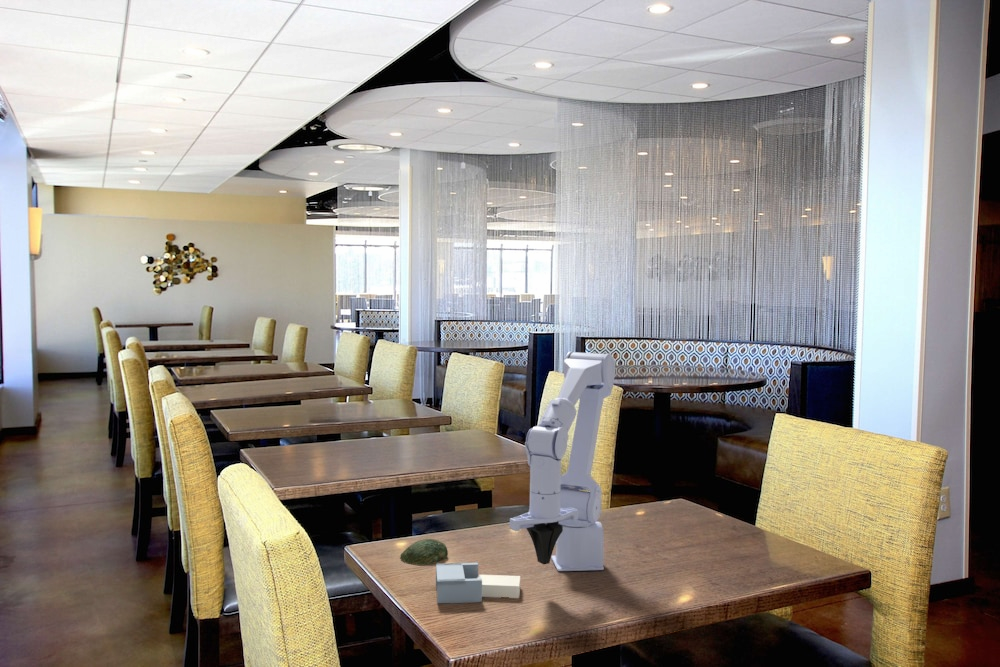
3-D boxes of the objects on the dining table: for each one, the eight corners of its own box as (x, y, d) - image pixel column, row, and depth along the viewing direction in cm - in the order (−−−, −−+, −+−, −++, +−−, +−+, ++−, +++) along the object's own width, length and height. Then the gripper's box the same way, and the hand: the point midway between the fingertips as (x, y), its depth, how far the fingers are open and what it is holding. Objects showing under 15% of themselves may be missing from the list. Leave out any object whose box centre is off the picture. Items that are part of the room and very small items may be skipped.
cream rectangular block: (520, 589, 147) (520, 575, 147) (519, 600, 142) (519, 586, 142) (478, 587, 147) (478, 574, 147) (475, 598, 142) (475, 584, 142)
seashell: (408, 529, 168) (453, 533, 166) (409, 547, 169) (453, 551, 167) (392, 547, 159) (439, 552, 157) (393, 566, 159) (439, 571, 157)
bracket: (477, 583, 149) (477, 562, 149) (481, 602, 140) (482, 580, 140) (435, 584, 148) (436, 563, 148) (437, 603, 139) (437, 581, 139)
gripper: (562, 481, 152) (561, 549, 153) (500, 490, 144) (499, 562, 145) (585, 489, 146) (584, 560, 147) (522, 499, 138) (521, 574, 139)
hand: (543, 562), depth 145 cm, fingers closed
